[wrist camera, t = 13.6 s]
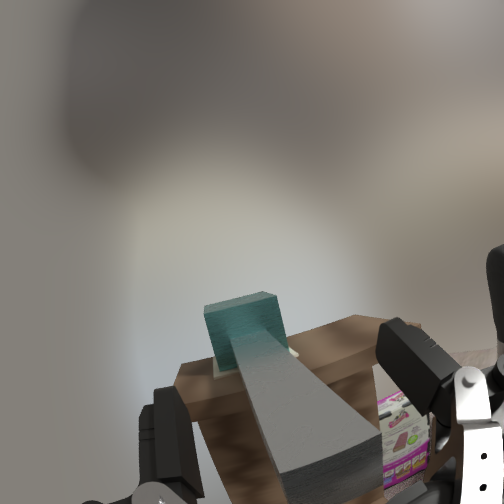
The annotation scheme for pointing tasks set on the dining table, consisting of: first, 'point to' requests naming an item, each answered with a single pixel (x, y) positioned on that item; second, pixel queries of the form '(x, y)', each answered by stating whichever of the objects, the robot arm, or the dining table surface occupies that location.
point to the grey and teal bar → (295, 407)
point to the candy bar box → (402, 439)
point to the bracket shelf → (242, 418)
